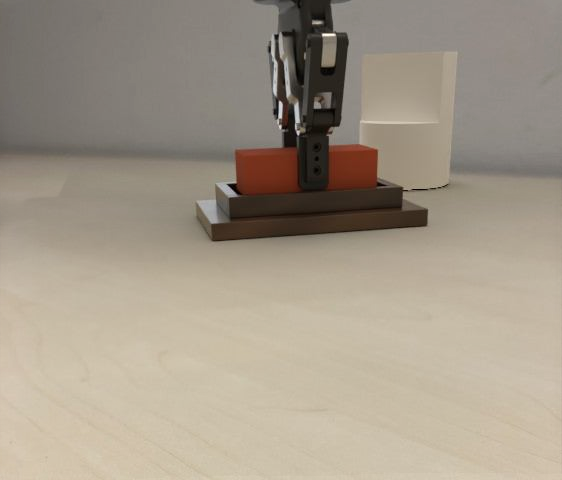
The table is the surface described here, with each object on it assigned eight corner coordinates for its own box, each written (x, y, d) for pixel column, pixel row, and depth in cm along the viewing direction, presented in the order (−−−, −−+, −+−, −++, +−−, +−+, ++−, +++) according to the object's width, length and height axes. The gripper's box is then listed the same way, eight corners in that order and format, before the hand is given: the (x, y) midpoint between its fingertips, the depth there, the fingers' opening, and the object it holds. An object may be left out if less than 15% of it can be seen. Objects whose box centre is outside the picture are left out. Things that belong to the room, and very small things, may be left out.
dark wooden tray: (212, 241, 49) (209, 201, 48) (196, 215, 58) (194, 181, 57) (427, 225, 52) (429, 188, 51) (381, 203, 61) (382, 171, 60)
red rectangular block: (246, 198, 51) (244, 155, 50) (236, 189, 55) (234, 149, 54) (377, 190, 53) (378, 149, 52) (358, 182, 57) (359, 143, 56)
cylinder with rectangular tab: (463, 180, 72) (473, 51, 67) (424, 193, 65) (432, 50, 60) (385, 175, 77) (390, 54, 72) (341, 186, 70) (343, 54, 65)
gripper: (230, -60, 53) (241, 175, 59) (268, -104, 40) (276, 202, 47) (327, -59, 54) (326, 170, 61) (394, -101, 41) (383, 196, 48)
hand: (304, 183), depth 54 cm, fingers closed on red rectangular block, 4 cm apart
